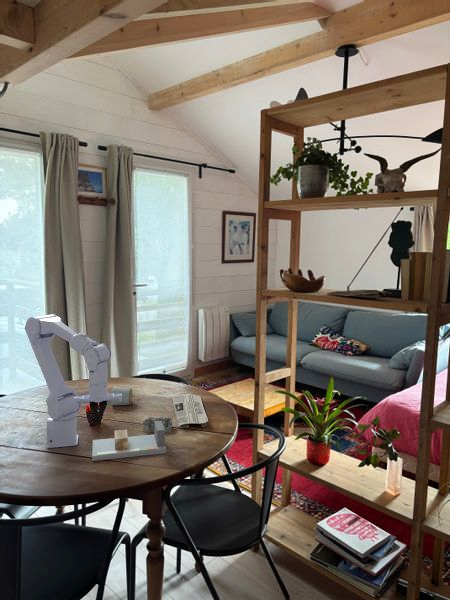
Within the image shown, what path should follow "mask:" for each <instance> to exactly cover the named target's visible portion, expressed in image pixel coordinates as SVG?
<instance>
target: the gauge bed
mask: <svg viewBox="0 0 450 600" xmlns="http://www.w3.org/2000/svg"><path fill="white" fill-rule="evenodd" d="M153 433H154V434H146V435H145V434H144V435H134V436H128V449H123V451H121V449H118V450H115V437H113V438H111V437H110V438H101V439H93V440H92V448H91V449H92V453H91V458H92V459H91V461H92V462H94V461H103V460H114V459H123V458H133V457H141V456H149V455H160V454H161V455H162V454H167V447H166V443H165V441H166V440H165V439H166V437H165V435H166V434H165V429H164V427H163V424H162V421H154V431H153Z"/></svg>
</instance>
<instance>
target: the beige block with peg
mask: <svg viewBox="0 0 450 600" xmlns="http://www.w3.org/2000/svg"><path fill="white" fill-rule="evenodd" d="M128 437H129V435H128V429H119V430H118V429H117V430H114V438H115V450H118V449H121V451H123V449H128Z"/></svg>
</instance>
